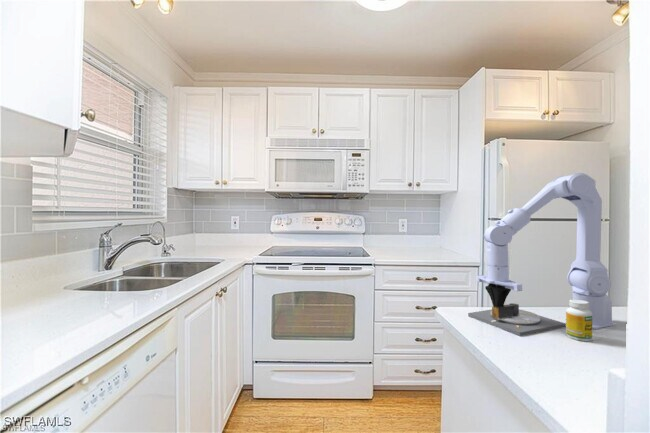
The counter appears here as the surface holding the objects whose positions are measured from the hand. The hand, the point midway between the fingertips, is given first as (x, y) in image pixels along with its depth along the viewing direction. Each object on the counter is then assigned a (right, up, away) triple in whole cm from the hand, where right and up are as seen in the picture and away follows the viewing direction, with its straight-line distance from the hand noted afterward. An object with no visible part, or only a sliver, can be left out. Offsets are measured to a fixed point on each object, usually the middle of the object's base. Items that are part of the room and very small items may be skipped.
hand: (498, 309), depth 97 cm
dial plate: (+4, -3, -1) cm, 6 cm away
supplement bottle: (+14, -4, -14) cm, 20 cm away
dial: (+4, -2, -1) cm, 5 cm away
